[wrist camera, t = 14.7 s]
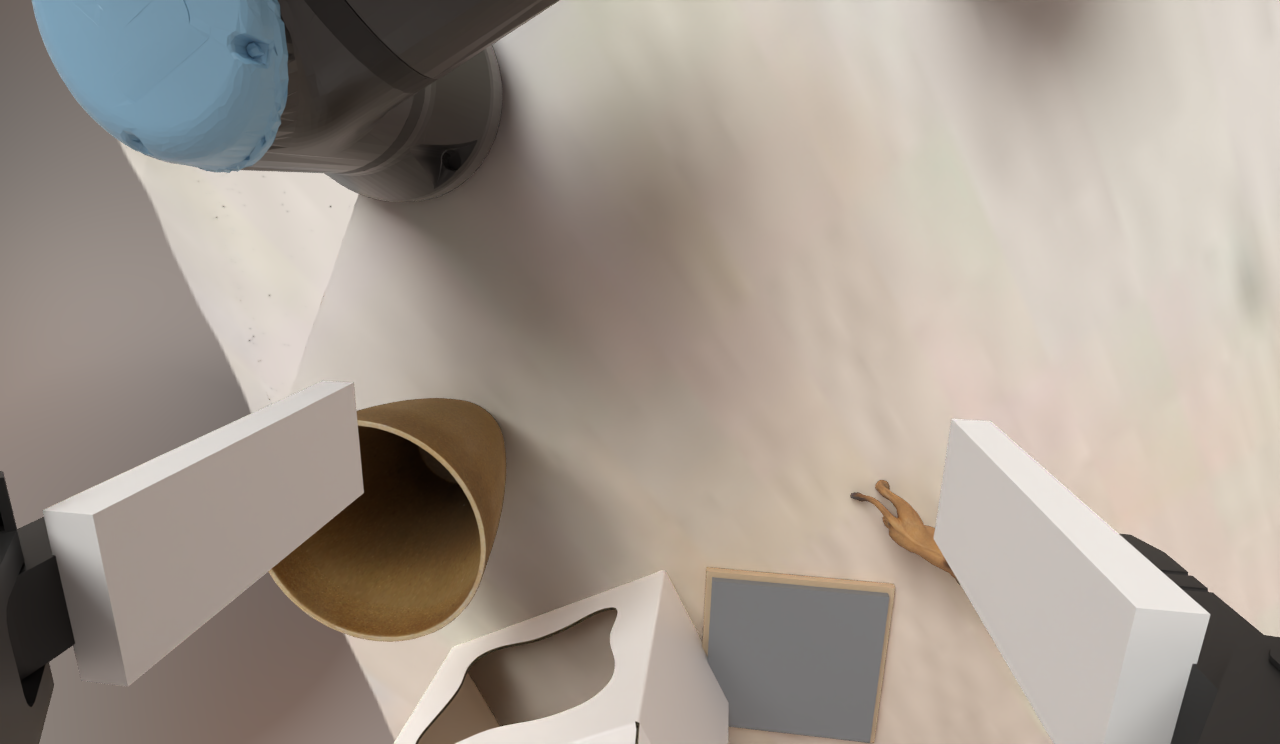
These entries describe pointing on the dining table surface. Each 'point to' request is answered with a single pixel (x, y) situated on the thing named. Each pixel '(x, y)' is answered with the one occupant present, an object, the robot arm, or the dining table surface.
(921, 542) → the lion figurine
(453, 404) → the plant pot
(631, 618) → the gable box
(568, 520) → the dining table surface
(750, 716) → the pad
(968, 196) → the dining table surface
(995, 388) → the dining table surface
